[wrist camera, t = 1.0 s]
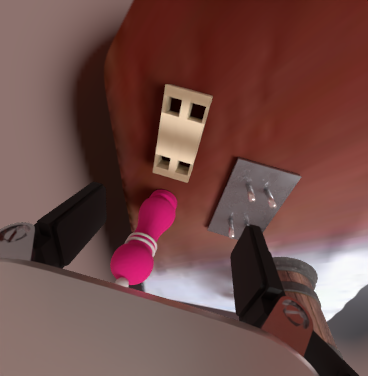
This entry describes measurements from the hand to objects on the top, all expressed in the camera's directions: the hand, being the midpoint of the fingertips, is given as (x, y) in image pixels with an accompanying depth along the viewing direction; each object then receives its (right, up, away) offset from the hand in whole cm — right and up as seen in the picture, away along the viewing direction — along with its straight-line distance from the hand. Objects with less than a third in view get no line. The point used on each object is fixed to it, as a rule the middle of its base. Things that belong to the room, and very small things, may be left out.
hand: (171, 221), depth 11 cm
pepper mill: (-4, -1, +27) cm, 27 cm away
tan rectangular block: (+1, +11, +19) cm, 22 cm away
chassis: (+14, -1, +23) cm, 27 cm away
